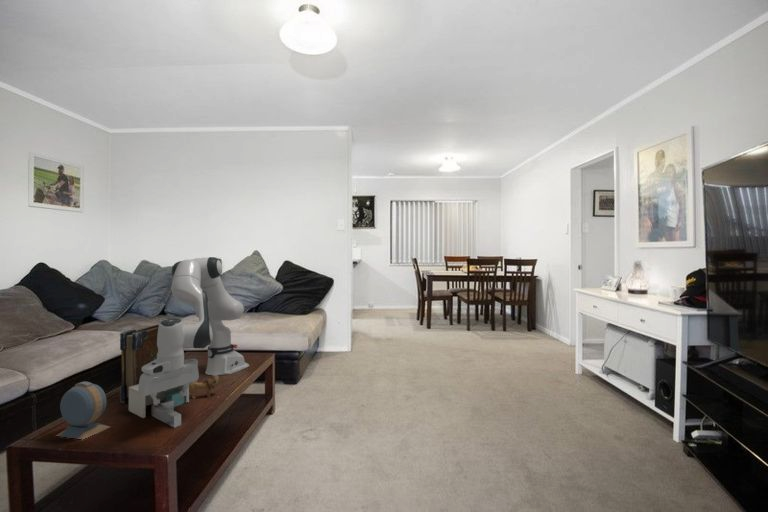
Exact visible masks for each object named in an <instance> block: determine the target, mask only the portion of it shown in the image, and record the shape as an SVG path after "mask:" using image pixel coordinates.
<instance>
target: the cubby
mask: <svg viewBox="0 0 768 512" xmlns="http://www.w3.org/2000/svg"><path fill="white" fill-rule="evenodd" d="M183 388H184V386H183V385H182V386H178V387H175V388H171V389H168V390H164V391H161V392H157V396H155V397H156V398H159V399H160V403H161V402H164V401H166V393H168V392H172V391H175V390H181V391H182V390H183ZM189 391H190V388H188V389H187V391H186V396H184V403H185V404H187V402H188V403H190V397H189ZM152 405H154V403H153V399H152V397H151V396H150V395H147V396H143V395H141V394H140V393H139V384H138V385H134V386H131V387H129V401H128V412H130V413H133V414H134V415H137V416H138V417H140V418H142V419H144V418H146V407H148V406H152Z"/></svg>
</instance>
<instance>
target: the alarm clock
mask: <svg viewBox="0 0 768 512" xmlns="http://www.w3.org/2000/svg"><path fill="white" fill-rule="evenodd" d="M106 407H107V396H106V392H105V391H104V389H103V388H102V387H101V386H100V385H98V384H96V383H95V384H94V383H92V382H90V381H81V382H78V383H75V384H74V386H72V387H71V388H70V389H68V390H67V391H66V392H65V393H64V394H63V395H62V397H61V401H60V404H59V408H60V409H59V410H60V412H61V417H62V418H63V420H64V421H65V422H66V423H67V424H69V426H68V427H67V428H66V429H64V430H63V431H61V432H59V433H57V434H56V435H55V437H56V436H62V437H61V438H63V437H68V438H67V439H69V438H76V439H82V440H81V441H84V440H83V439H85V438H87V439H89V438H91V437H93V436H95V435H98V434H99V433H102V432H103V431H105V430H108V429H109V428H111V426H109V425H106V424H104V423H99V422H96V420H97V419H99V418H100V417H101V416H102V415H103V413H104V412H105V410H106ZM94 434H95V435H94ZM92 435H93V436H92ZM90 436H91V437H90ZM88 437H89V438H88ZM76 439H75V440H76ZM85 440H86V439H85Z"/></svg>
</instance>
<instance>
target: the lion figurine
mask: <svg viewBox="0 0 768 512" xmlns="http://www.w3.org/2000/svg"><path fill="white" fill-rule="evenodd" d="M219 383H220V375H210V377H209V378H208V379H206V380H204V381H202V382H198V381H196V382H192V383H189V398H192V399H193V400H196V396H194V394H195V392H196V391H199V392H204V391H206V396H207V398H211V397H212V396H211V390H215V388H216V387H217V386H218V385H219Z"/></svg>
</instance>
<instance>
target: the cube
mask: <svg viewBox="0 0 768 512" xmlns="http://www.w3.org/2000/svg"><path fill="white" fill-rule="evenodd" d="M180 391H181V390H175V391H172V392H168V393H166V400H165V401H167V400H170V399H172V400H174V408H175V407H177V406H181V405H184V404H185V402H184V396H183V397H182V396H180ZM183 403H184V404H183Z"/></svg>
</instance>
